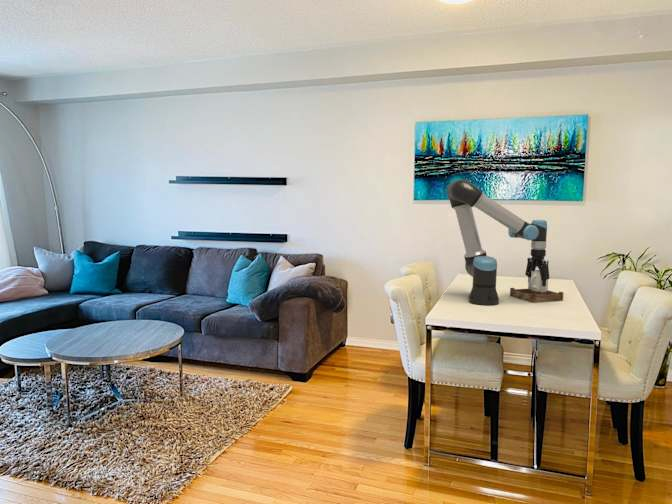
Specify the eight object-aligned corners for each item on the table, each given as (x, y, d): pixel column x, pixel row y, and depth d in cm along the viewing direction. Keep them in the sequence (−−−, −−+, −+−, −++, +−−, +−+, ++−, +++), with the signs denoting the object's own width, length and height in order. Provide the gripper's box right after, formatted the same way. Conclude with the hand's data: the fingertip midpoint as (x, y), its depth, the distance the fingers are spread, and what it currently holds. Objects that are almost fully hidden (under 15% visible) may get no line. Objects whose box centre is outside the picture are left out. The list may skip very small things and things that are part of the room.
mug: (523, 290, 279) (524, 271, 278) (536, 288, 286) (537, 269, 285) (537, 293, 272) (538, 273, 271) (550, 291, 279) (551, 271, 278)
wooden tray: (509, 295, 286) (510, 287, 285) (538, 294, 292) (538, 286, 292) (533, 302, 268) (533, 294, 267) (562, 300, 274) (563, 292, 274)
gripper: (519, 247, 286) (517, 287, 288) (546, 251, 266) (544, 294, 268) (530, 246, 288) (528, 286, 291) (558, 250, 268) (556, 293, 271)
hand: (536, 290), depth 280 cm, fingers closed on mug, 8 cm apart
